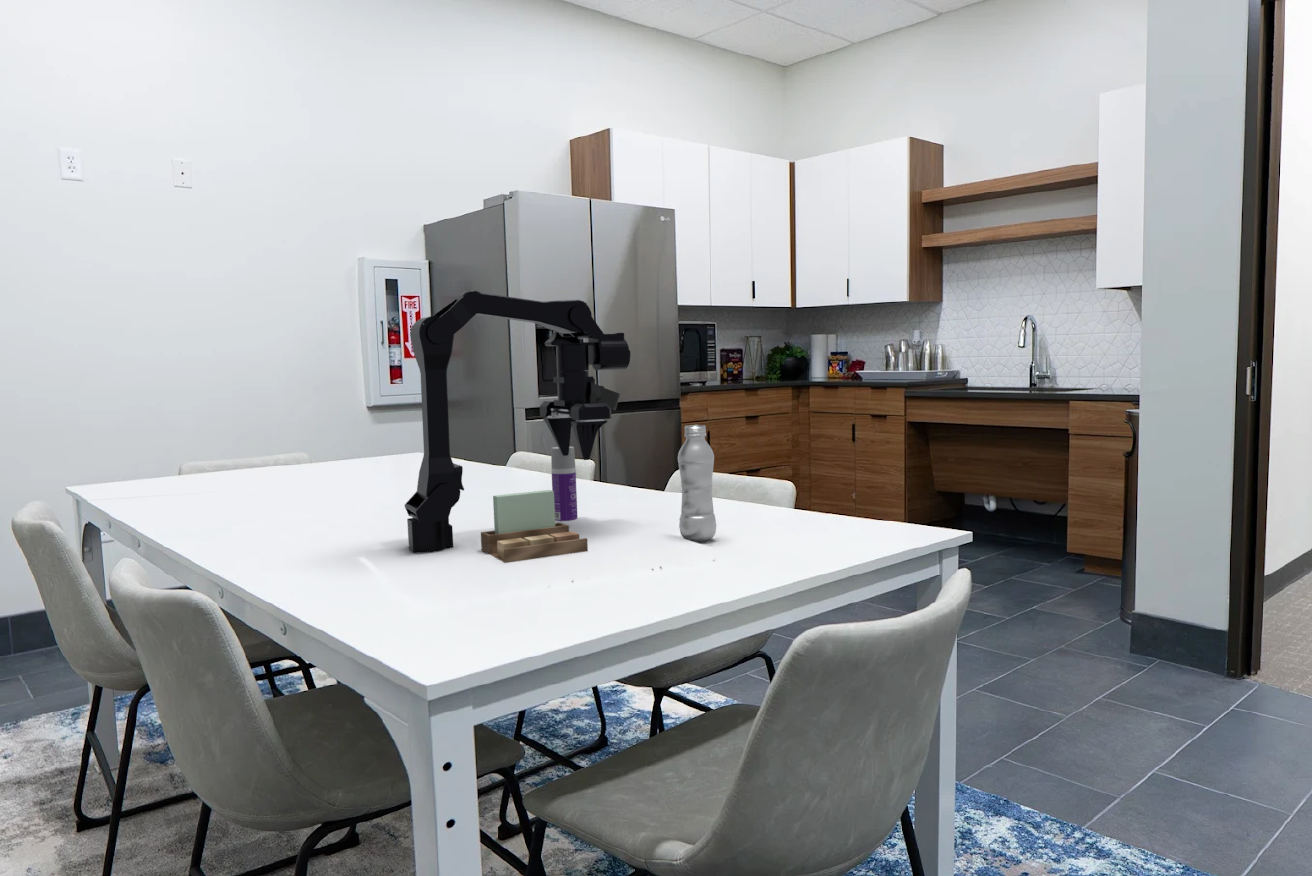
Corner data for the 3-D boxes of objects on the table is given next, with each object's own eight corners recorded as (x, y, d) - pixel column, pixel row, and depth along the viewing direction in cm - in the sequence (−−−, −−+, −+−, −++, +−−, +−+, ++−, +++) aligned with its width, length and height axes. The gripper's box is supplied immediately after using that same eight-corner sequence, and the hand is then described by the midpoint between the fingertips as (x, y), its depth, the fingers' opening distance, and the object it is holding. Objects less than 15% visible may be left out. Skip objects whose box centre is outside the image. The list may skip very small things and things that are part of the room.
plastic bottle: (717, 536, 161) (714, 423, 159) (716, 544, 154) (713, 427, 153) (681, 537, 162) (677, 424, 160) (678, 545, 155) (674, 427, 153)
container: (576, 525, 176) (573, 448, 175) (552, 526, 176) (548, 449, 175) (578, 521, 181) (575, 446, 180) (555, 521, 181) (552, 446, 180)
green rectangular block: (499, 551, 150) (497, 497, 149) (495, 549, 151) (492, 495, 151) (556, 543, 154) (553, 491, 154) (551, 541, 156) (549, 489, 155)
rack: (505, 568, 141) (504, 543, 141) (480, 555, 152) (479, 531, 151) (588, 556, 148) (587, 532, 148) (559, 544, 159) (558, 521, 158)
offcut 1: (504, 559, 143) (503, 544, 143) (497, 556, 146) (497, 541, 146) (528, 556, 145) (527, 540, 145) (521, 553, 148) (520, 537, 148)
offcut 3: (557, 552, 148) (556, 537, 147) (550, 549, 150) (549, 534, 150) (579, 549, 150) (579, 534, 149) (572, 546, 152) (571, 531, 152)
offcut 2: (531, 555, 145) (530, 540, 145) (524, 552, 148) (523, 537, 148) (554, 552, 147) (553, 537, 147) (547, 549, 150) (546, 534, 150)
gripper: (637, 370, 159) (639, 458, 161) (591, 370, 176) (593, 450, 177) (578, 371, 154) (581, 463, 155) (537, 371, 170) (540, 454, 172)
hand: (575, 457), depth 165 cm, fingers open, 9 cm apart
